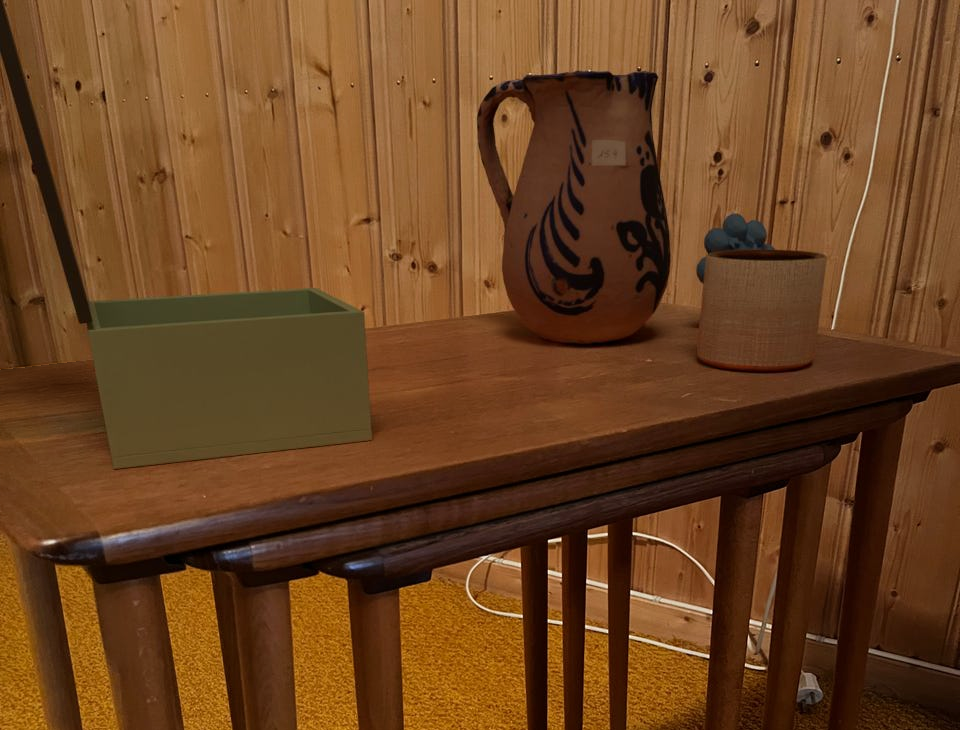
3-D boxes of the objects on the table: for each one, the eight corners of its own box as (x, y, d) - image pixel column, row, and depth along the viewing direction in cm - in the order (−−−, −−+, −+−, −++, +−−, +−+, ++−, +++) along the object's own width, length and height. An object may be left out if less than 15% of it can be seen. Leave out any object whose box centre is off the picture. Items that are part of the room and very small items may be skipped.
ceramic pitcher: (650, 356, 96) (668, 62, 85) (449, 347, 102) (441, 72, 91) (676, 328, 111) (694, 75, 100) (499, 321, 117) (498, 82, 106)
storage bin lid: (2, -1, 63) (-11, 0, 63) (-10, -39, 51) (-27, -38, 51) (86, 294, 72) (75, 296, 72) (92, 322, 60) (79, 324, 60)
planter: (820, 355, 95) (835, 250, 91) (804, 377, 87) (820, 262, 82) (709, 348, 99) (718, 247, 95) (684, 368, 91) (692, 258, 86)
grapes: (720, 337, 105) (731, 216, 100) (678, 329, 110) (687, 214, 105) (797, 327, 110) (812, 212, 105) (754, 320, 116) (766, 209, 110)
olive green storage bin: (325, 398, 82) (315, 287, 78) (372, 440, 70) (364, 311, 66) (104, 419, 76) (82, 301, 72) (113, 469, 64) (87, 330, 60)
